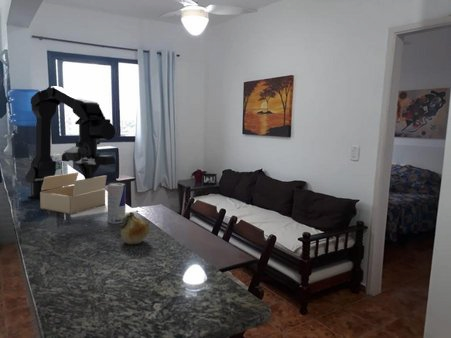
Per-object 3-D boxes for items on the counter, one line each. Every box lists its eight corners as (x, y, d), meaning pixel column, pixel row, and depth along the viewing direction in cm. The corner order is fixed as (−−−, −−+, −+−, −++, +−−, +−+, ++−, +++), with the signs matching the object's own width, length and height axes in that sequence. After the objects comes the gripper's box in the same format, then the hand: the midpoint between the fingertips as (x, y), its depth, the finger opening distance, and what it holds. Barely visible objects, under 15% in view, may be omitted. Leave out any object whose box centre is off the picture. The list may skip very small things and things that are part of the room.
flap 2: (74, 180, 109) (75, 181, 109) (106, 175, 123) (106, 175, 123) (72, 195, 110) (73, 195, 110) (104, 188, 124) (104, 188, 123)
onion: (121, 249, 82) (121, 218, 81) (117, 239, 90) (118, 210, 89) (151, 246, 86) (152, 216, 84) (146, 236, 93) (146, 209, 92)
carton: (39, 209, 114) (39, 191, 114) (76, 199, 130) (76, 184, 129) (71, 214, 110) (71, 197, 109) (105, 204, 125) (105, 188, 124)
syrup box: (54, 186, 152) (54, 155, 150) (43, 185, 153) (42, 154, 151) (63, 184, 158) (62, 154, 156) (52, 183, 159) (51, 153, 157)
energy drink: (128, 220, 107) (129, 183, 105) (118, 224, 102) (118, 186, 100) (114, 218, 108) (115, 182, 107) (103, 222, 103) (103, 184, 102)
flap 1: (41, 190, 114) (41, 190, 114) (75, 184, 128) (74, 183, 128) (45, 177, 113) (44, 177, 113) (78, 172, 127) (78, 172, 127)
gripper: (47, 137, 110) (48, 183, 112) (93, 140, 104) (93, 189, 106) (73, 136, 120) (74, 179, 122) (116, 139, 114) (116, 184, 116)
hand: (88, 183), depth 116 cm, fingers closed
